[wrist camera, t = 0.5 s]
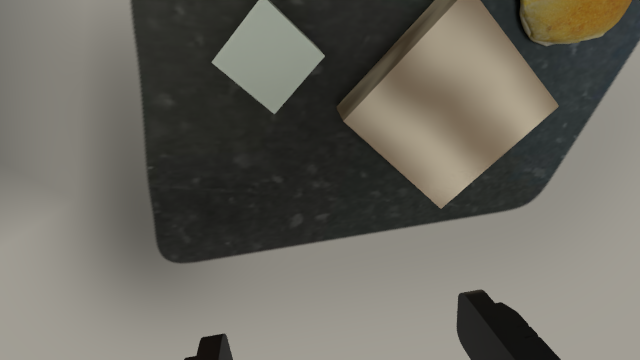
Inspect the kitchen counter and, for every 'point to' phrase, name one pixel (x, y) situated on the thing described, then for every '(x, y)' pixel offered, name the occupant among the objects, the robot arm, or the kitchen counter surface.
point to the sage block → (268, 56)
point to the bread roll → (569, 19)
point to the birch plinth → (447, 99)
